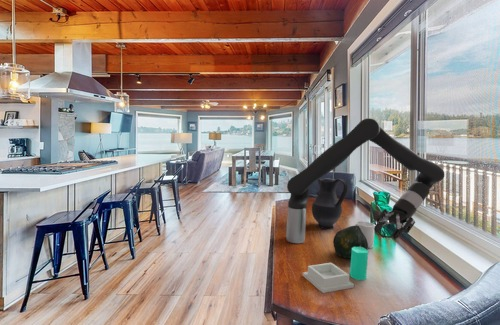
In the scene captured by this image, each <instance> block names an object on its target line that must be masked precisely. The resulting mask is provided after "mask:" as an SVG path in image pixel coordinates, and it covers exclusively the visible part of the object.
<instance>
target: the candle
mask: <svg viewBox="0 0 500 325" xmlns="http://www.w3.org/2000/svg"><path fill="white" fill-rule="evenodd" d="M368 255H369V250H368V251H367V250H366V249H365V248H363V247H353V248H352V252H351V257H350V267H349V268H350V269H349V277H350V278H353V279H354V280H359V281H364V280H367V271H368V270H367V269H368V259H369V258H368Z"/></svg>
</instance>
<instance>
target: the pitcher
mask: <svg viewBox="0 0 500 325" xmlns="http://www.w3.org/2000/svg"><path fill="white" fill-rule="evenodd" d="M317 182H318V184H319V190H318V193H317V195H316V198H315V200H314V201H313V202H312V204H311V215H312V216H313V219H314V220H315V222H317V225H316V227H317V228H318V229H319V228H320V229H322V230H333V229H334V224H336V223H337V222H338V221H339V219H340V218H341V216H342V212H343V206H342V204H343V201H344V199H345V197H346V195H347V192H348V184H347V182H346V180H344V179H343V178H336V179H333V178H322V179H321V178H319V179H317ZM339 182H341V183H342V184H343V190H342V193H341V195H340V196H339V198H338V197H337V194H336V191H337V190H336V189H337V185H338V184H339Z"/></svg>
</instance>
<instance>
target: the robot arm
mask: <svg viewBox="0 0 500 325" xmlns="http://www.w3.org/2000/svg"><path fill="white" fill-rule="evenodd" d="M368 141H370V142H371V143H373V144H375V145H377V146H379V147H380V148H381V149H383V150H384V151H385V152H386V153H387V154H389V155H390V157H392V158H393V159H394V160H395V161H396V162H398V163H399V164H401V165H402V166H403V167H404V168H406V169H407V170H409V171H411V172H413V171H416V172H419V173H418V174H417V176H416V177H415V180H414V181H413V183H411V185H410V186H409V187H408V189H407V190H406V191H405V192H404V193H403V194H401V196H400V197H399V199H397V201H396V202H395V204H393V206H392V209H391V210H390V211H388V210H387V209H386V208H384V209H383V210H382V212H380V214H379V215H377V217H376V221H377V224H376V225H375V227H374V232H375V233H378V234H379V232H380V230H381V229H382V228H383V227H384V226H385V225H390V224H392V225H395V226H396V228H395V229H394V231H393V232H392V233H391V235H390V237H391V239H392V240H396V239H398V238H399V237H400V236H401V235H402V234H403V233H405V234H409V232H410V231H411V229H412V228H413V227H414V225H415V224H416V221H415V220H414V218H413V216H414V215H415V213H417V211H418V210H419V208H420V207H421V206H422V203H423V202H424V201H425V199H426V198H427V197H428V196H429V194H430V190H431V188H433V186H434V185H436V184H437V183H439V182H440V181H442V180H443V179H444V177H445V172H444V169H443V168H442V167H441V166H439V165H438V164H437V163H436V162H432V161H430V160H428V159H426V158H423V157H421V156H420V155H419V154H417V153H416V152H414V151H413V150H412V149H411V148H409V147H407V146H406V145H405V144H403V143H401V142H400V141H398V140H396V138H393V137H392V136H391V135H390V134H388V133H387V132H386V131H385V130H384V129H383V128H382V126H381V125H380V124H379V122H378V121H377V120H376V119H374V118H371V117H368V118H364V119H362V120H360V122H359V123H358V124H356V125H355V127H354V128H353V129H352V130H351V131H349V132H348V133H347V134H346V135H345V136H344V137H342V138H341V139H339V140H338V141H336V142H335V143H334V144H332V145H331V146H330V147H328V148H327V149H326V150H324V151H323V152H322V153H321V154H319V155H318V156H317V157H316V158H315V159H314V160H313V161H312V162H311V163H310V164H309V165H308V166H307V167H306V168H305V169H303V170H302V171H301V172H299V173H297V174H296V175H294V176H293V177H291V178H290V179H289V180H288V182H287V184H286V186H287V191H288V192H289V193H290V197H289V200H288V202H287V220H286V230H285V231H286V233H285V237H286V241H287V242H289V243H292V244H302V243H305V241H306V240H305V239H306V238H305V237H306V223H307V205H308V202H309V194H310V193H309V191H310V186H311V185H312V184H313V183H314V182H316V181H318V179H321V178H322V177H324V176H326V175H327V174H328V173H330V172H332V171H334V170H335V169H336V168H337V167H338V166H340V165H341V164H343V163H344V162H345V161H346V160H347V159H348V157H350V156H351V155H352V154H353V152H354V151H355V150H357V149H358V148H359V147H361V146H362V145H363V144H365V143H367V142H368Z"/></svg>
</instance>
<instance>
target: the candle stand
mask: <svg viewBox="0 0 500 325" xmlns="http://www.w3.org/2000/svg"><path fill="white" fill-rule="evenodd" d="M302 276H303V277H304V278H305V279H306V280H307V281H308V283H311V284H312V285H313V286H314V287H315V288H316V289H317V290H318V291H319V292H321V293H322V294H326V293H331V292H335V291H337V292H338V291H342V290H348V289H353V288H355V284H354V283H353V282H352V281H351V280H350V273H348V272H346V271H345V270H343V269H342V268H340V267H339V266H337V265H336V264H334V263H333V262H327V263H326V262H325V263H321V264H320V263H319V264H312V265H311V264H310V265H308V266H307V271H304V272H302Z"/></svg>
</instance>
